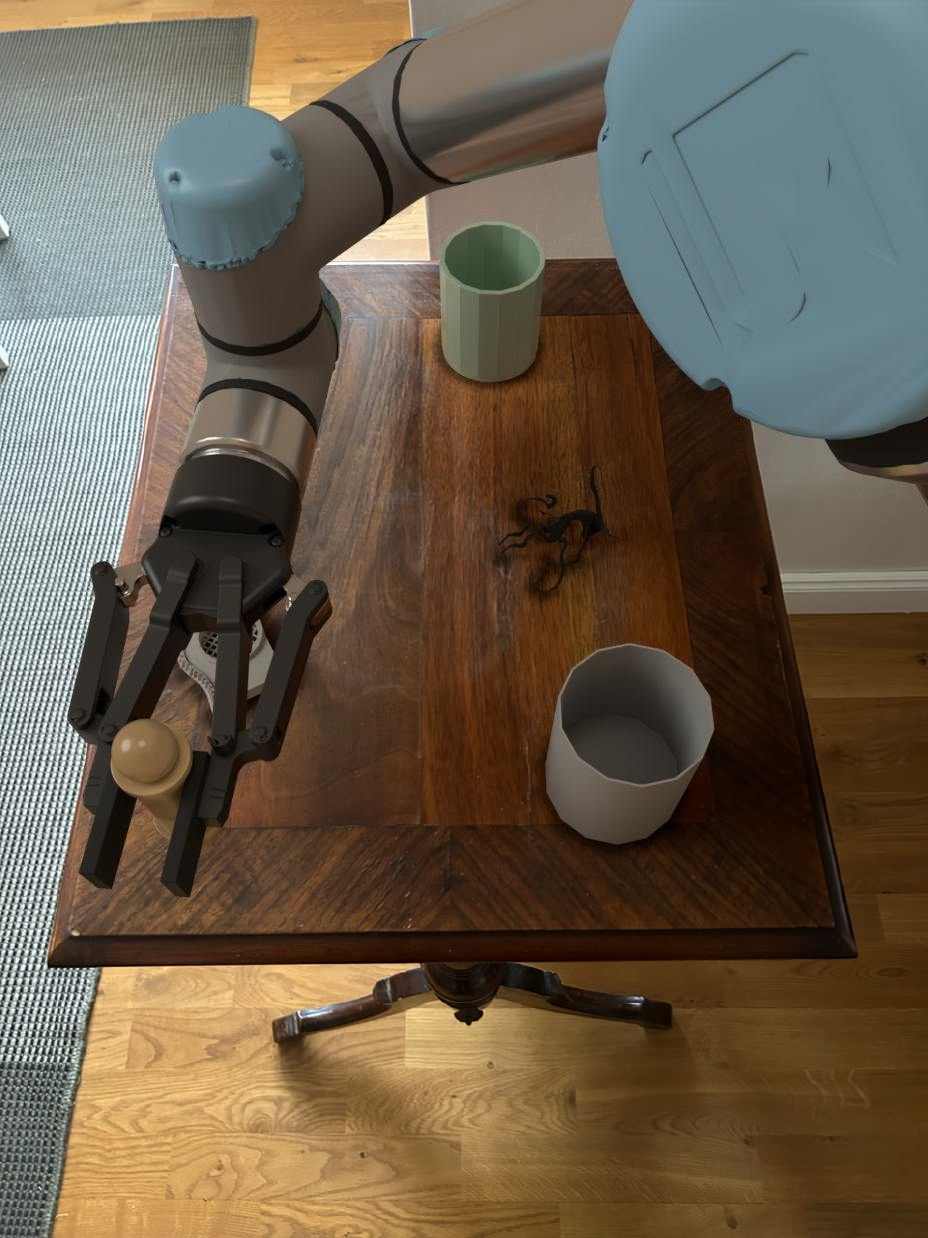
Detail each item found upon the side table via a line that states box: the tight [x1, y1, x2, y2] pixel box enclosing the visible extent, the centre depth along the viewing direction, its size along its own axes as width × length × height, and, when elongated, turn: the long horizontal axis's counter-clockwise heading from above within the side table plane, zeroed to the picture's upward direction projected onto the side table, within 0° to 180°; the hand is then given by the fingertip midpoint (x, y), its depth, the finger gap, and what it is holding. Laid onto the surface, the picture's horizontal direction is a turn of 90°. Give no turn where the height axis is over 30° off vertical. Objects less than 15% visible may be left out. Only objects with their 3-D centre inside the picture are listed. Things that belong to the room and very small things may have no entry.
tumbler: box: [438, 220, 546, 383], centre depth 77 cm, size 8×8×9 cm
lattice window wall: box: [177, 618, 274, 713], centre depth 67 cm, size 12×2×6 cm
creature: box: [497, 465, 619, 594], centre depth 69 cm, size 8×5×8 cm
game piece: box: [111, 718, 225, 847], centre depth 51 cm, size 4×4×11 cm
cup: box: [545, 642, 715, 845], centre depth 59 cm, size 8×8×10 cm
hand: (135, 884), depth 48 cm, fingers closed on game piece, 3 cm apart
